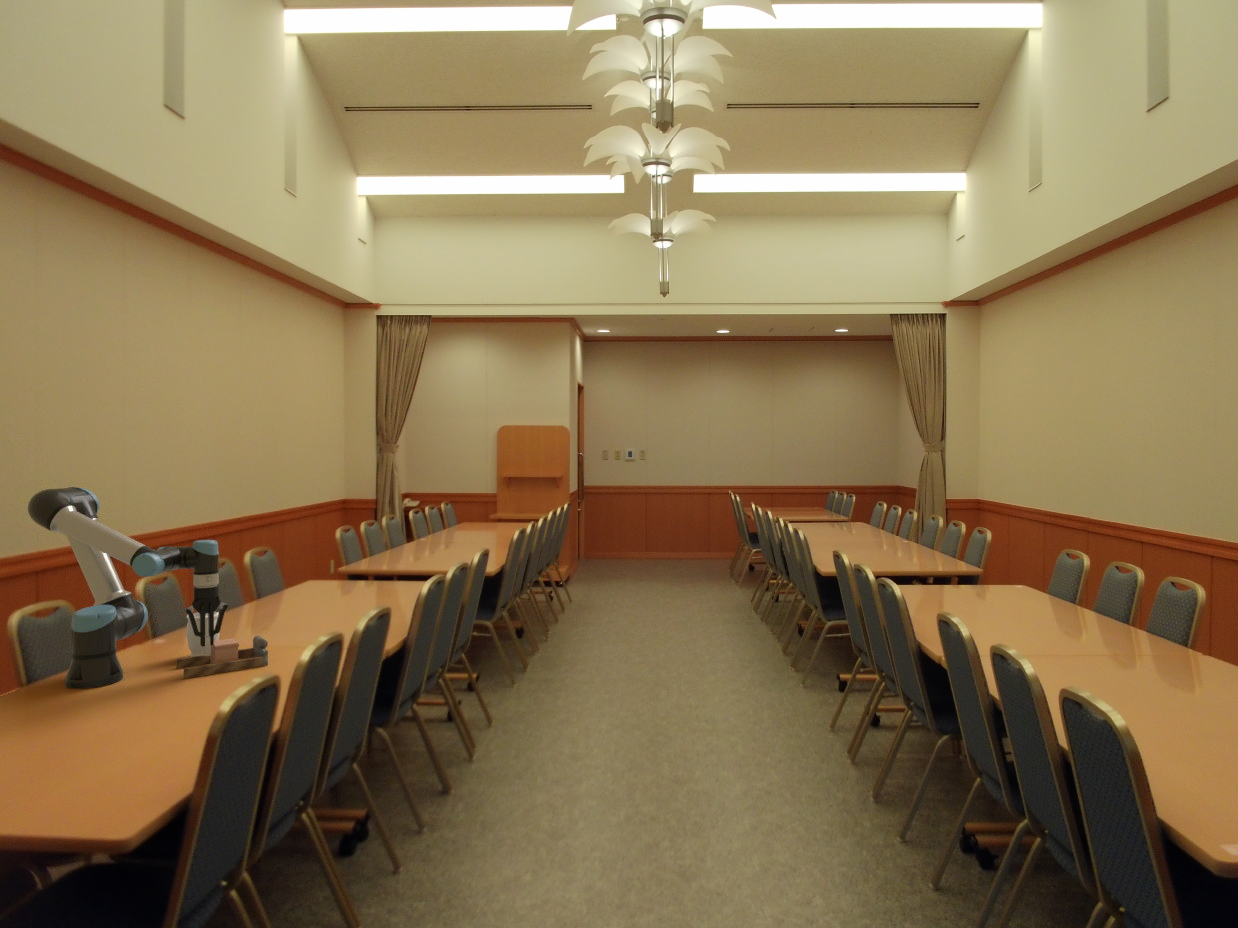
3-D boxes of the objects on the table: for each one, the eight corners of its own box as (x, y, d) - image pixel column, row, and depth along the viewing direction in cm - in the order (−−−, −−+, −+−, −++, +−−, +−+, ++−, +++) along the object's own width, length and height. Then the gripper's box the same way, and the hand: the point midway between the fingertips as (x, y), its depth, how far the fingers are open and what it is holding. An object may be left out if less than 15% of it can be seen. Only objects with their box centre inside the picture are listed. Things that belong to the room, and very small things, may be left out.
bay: (184, 678, 241) (184, 654, 241) (176, 667, 253) (176, 644, 253) (270, 664, 257) (270, 641, 257) (259, 654, 269) (259, 632, 269)
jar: (226, 652, 273) (226, 611, 272) (207, 659, 262) (207, 617, 262) (199, 651, 274) (198, 610, 273) (179, 658, 263) (179, 616, 263)
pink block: (215, 669, 249) (215, 646, 249) (210, 664, 256) (210, 641, 256) (238, 666, 254) (238, 642, 254) (233, 660, 260) (233, 637, 260)
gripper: (186, 589, 244) (187, 661, 244) (229, 585, 252) (230, 654, 253) (182, 586, 250) (183, 656, 250) (225, 582, 258) (226, 649, 258)
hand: (207, 655), depth 251 cm, fingers closed
